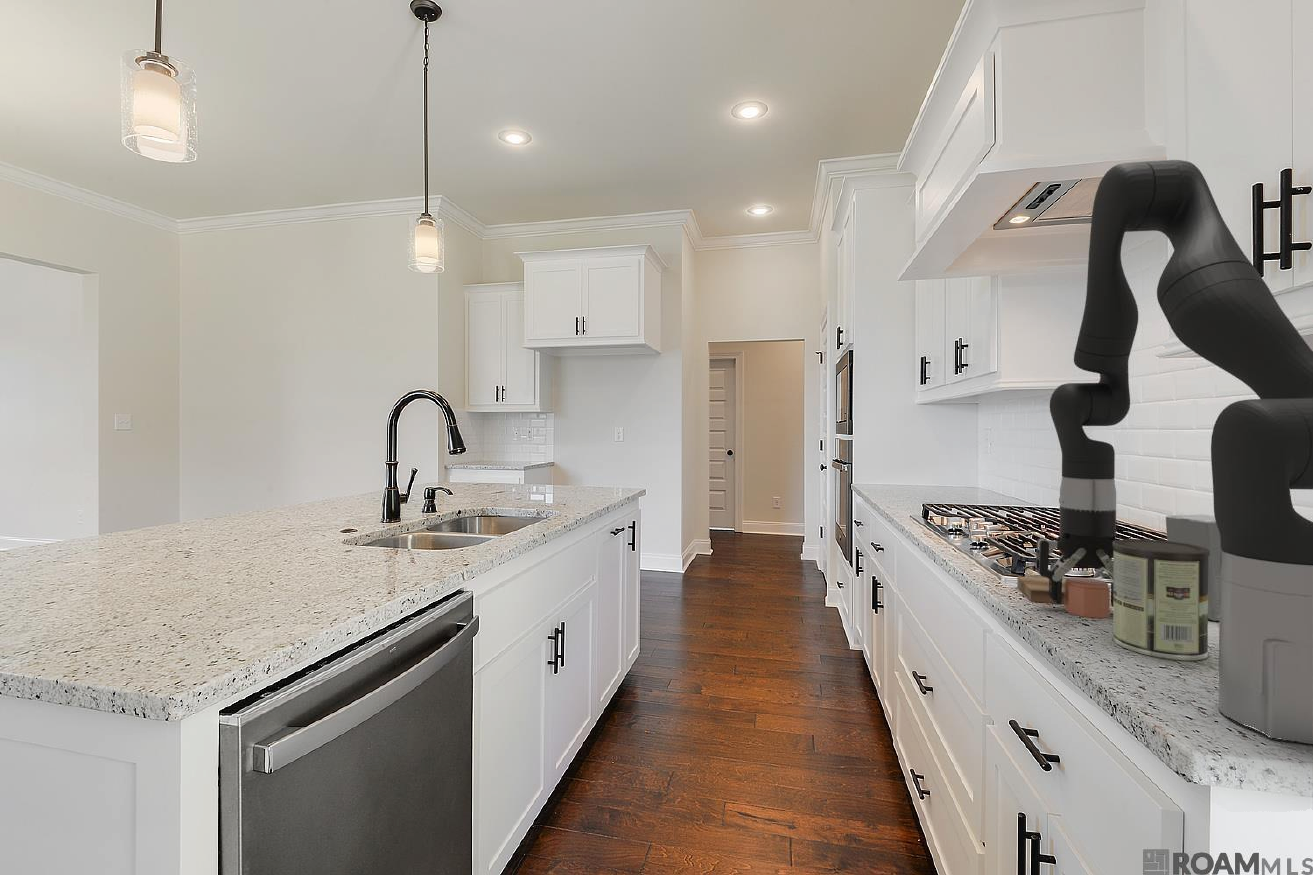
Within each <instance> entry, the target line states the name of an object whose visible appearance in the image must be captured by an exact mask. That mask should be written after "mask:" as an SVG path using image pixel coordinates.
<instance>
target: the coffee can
mask: <svg viewBox="0 0 1313 875" xmlns="http://www.w3.org/2000/svg"><path fill="white" fill-rule="evenodd" d="M1112 545H1113V549H1114V554H1113V558H1112V559H1113V561H1112V562H1113V580H1112V581H1113V582H1112V583H1114V594H1113V596H1114V598H1113V610H1112V611H1113V614H1112V615H1113V619H1112V620H1113V625H1112V626H1113V627H1112V628H1113V636H1112V641H1113V642H1114V643H1115V644H1116V645H1118V646H1119V647H1122V648H1124V649H1126V650H1129V651H1132V652H1135V653H1139V654H1142V655H1146V656H1150V657H1153V658H1154V657H1155V658H1159V659H1165V660H1173V661H1188V662H1189V661H1202V660H1206V659H1207V658H1208V657H1209V655H1210V654H1209V652H1208V651H1209V650H1208V648H1209V645H1208V644H1209V642H1208V638H1209V637H1208V635H1209V634H1208V632H1209V630H1208V629H1209V621H1208V620H1209V619H1208V557H1209V555H1210V551H1209V550H1208V549H1206V548H1204V547H1200V546H1196V545H1191V544H1186V543H1179V542H1171V541H1167V540H1161V539H1160V540H1159V539H1158V540H1157V539H1147V538H1145V539H1144V538H1143V539H1142V538H1140V539H1139V538H1125V539H1123V538H1122V539H1117V540H1115V541H1113V542H1112Z"/></svg>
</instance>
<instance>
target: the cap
mask: <svg viewBox="0 0 1313 875" xmlns="http://www.w3.org/2000/svg"><path fill="white" fill-rule="evenodd" d="M1065 580H1066V582H1065V586H1064V604H1063V605H1064V607H1063V609H1064V610H1066V612H1067V613H1069V614H1072V615H1077V616H1081V617H1083V618H1084V617H1085V618H1095V619H1096V618H1099V619H1103V618H1107V617H1110V615H1111V614H1110V611H1111V610H1110V609H1111V608H1110V606H1111V587H1110V586H1109V583H1108V582H1106V581H1103V580H1100V579H1095V578H1088V577H1078V576H1077V577H1067V578H1065Z"/></svg>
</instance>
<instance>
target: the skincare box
mask: <svg viewBox="0 0 1313 875" xmlns="http://www.w3.org/2000/svg"><path fill="white" fill-rule="evenodd" d="M1165 527H1166V528H1165V529H1166V541H1171V542H1179V543H1186V544H1191V545H1196V546H1200V547H1204V548H1206V549H1208V550H1209V551H1210V555H1209V557H1208V620H1210V621H1215V622H1216V621H1217V622H1218V621H1219V607H1220V550H1221V540H1220V533H1219V530H1218V527H1217V524H1216V520H1215V516H1214V515H1208V514H1187V515H1186V514H1183V515H1181V514H1180V515H1166V516H1165Z"/></svg>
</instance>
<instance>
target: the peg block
mask: <svg viewBox="0 0 1313 875" xmlns="http://www.w3.org/2000/svg"><path fill="white" fill-rule="evenodd" d="M1055 564H1056V562H1053V563H1051V564H1050V566H1049V570H1051V569H1052V568H1053V567H1054V566H1055ZM1060 581H1061V582H1062V603H1061V604H1060V605H1064V586H1065V582H1066V579H1063V577H1062V578H1061V580H1060ZM1016 585H1017V588H1018V589H1019V590H1020V591H1021V593H1023V595H1024V596H1025V597H1026V598H1027V599H1028V600H1029V601H1030V602H1033V603H1034V602H1035V603H1044V604H1045V603H1047V604H1056V603H1055V602H1054V601H1053V600H1052V599H1051V598H1050V596H1049V579H1048V578H1047V577H1034V576H1033V577H1030V576H1017V584H1016Z"/></svg>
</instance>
